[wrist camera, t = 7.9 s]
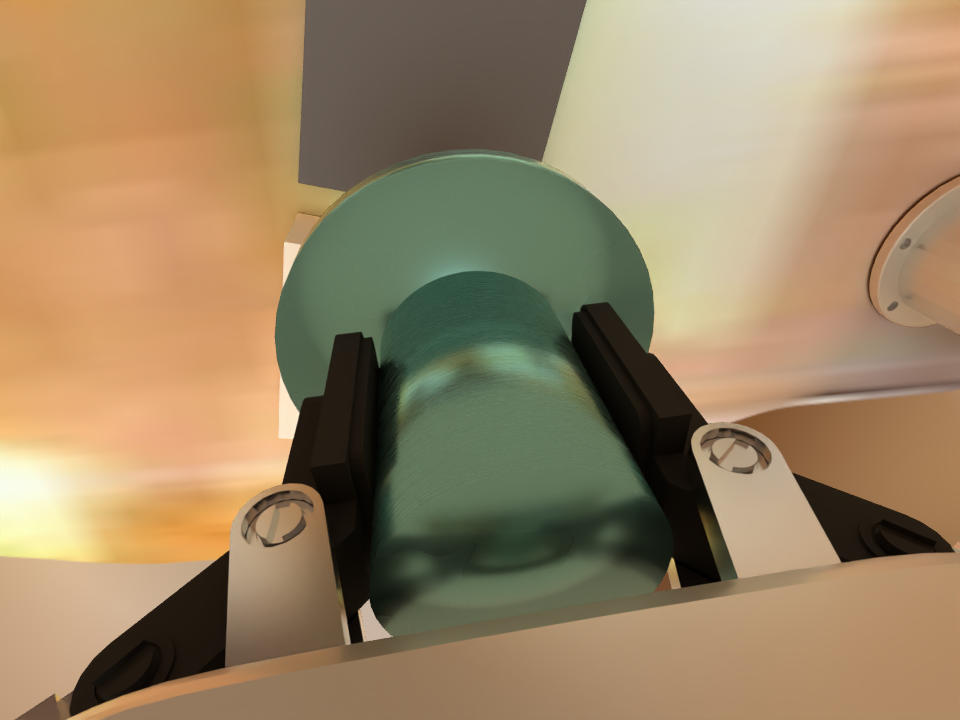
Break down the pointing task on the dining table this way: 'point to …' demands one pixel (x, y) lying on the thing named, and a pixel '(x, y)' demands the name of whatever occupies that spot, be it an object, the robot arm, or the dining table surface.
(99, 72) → the dining table surface
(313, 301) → the end cover
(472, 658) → the robot arm
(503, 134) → the mat
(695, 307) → the dining table surface
